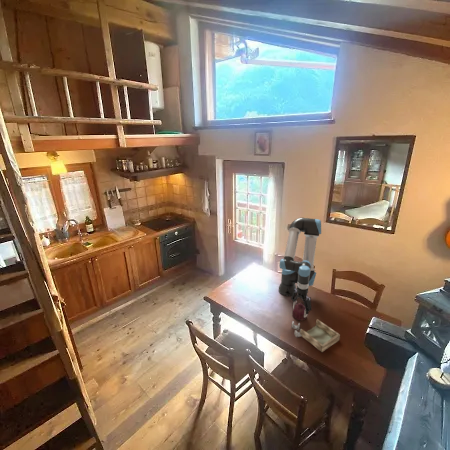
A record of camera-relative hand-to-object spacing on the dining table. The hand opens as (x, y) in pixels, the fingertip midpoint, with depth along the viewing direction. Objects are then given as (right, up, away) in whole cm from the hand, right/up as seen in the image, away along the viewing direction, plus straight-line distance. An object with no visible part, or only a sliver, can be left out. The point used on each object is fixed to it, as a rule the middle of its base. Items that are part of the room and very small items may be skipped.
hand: (299, 312), depth 182 cm
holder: (+7, -10, -18) cm, 22 cm away
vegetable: (0, -3, +1) cm, 3 cm away
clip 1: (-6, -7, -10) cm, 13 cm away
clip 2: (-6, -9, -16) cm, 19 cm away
